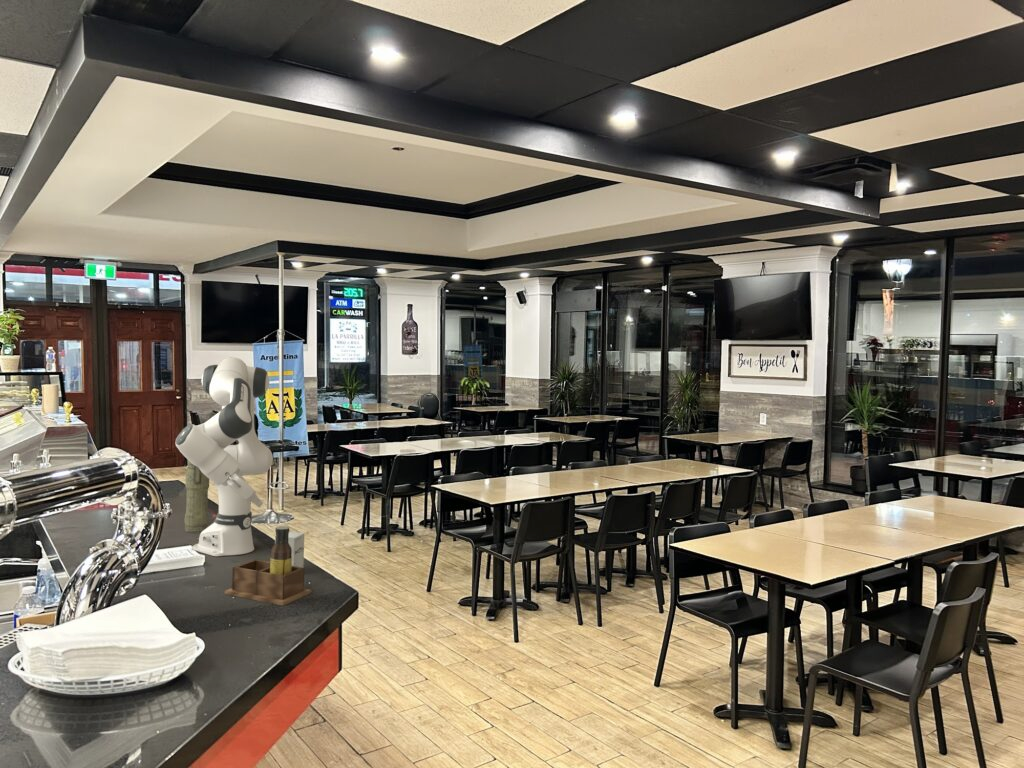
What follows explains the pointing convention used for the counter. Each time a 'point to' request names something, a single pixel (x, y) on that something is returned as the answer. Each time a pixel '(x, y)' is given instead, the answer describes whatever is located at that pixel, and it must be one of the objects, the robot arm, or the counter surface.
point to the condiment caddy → (267, 583)
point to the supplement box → (296, 548)
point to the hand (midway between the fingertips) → (258, 501)
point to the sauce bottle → (281, 552)
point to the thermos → (196, 500)
